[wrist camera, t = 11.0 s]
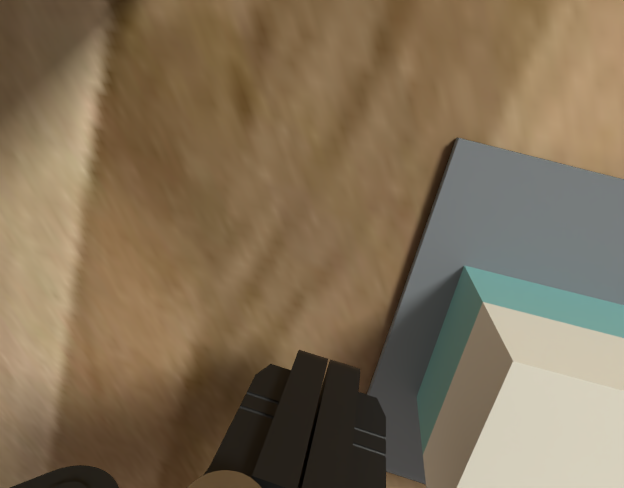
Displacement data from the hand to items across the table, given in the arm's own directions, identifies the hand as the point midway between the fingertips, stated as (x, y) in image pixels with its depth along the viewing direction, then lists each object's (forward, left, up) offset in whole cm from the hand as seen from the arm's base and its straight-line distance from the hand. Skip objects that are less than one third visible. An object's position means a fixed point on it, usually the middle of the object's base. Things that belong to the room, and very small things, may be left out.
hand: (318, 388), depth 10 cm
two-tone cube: (+6, 0, -4) cm, 7 cm away
